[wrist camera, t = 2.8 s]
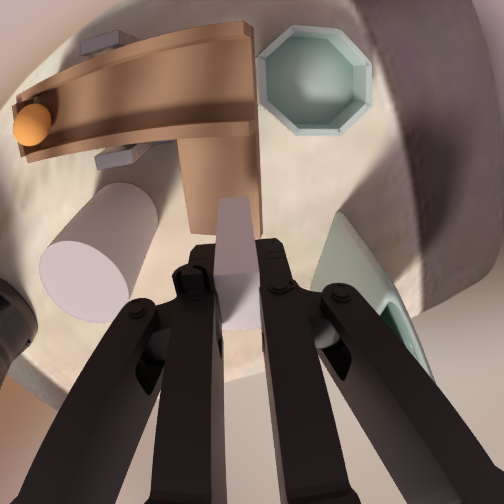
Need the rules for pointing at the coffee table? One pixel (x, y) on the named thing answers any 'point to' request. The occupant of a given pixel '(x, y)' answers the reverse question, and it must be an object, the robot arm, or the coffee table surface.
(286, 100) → the bowl
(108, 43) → the fulcrum
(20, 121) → the ball
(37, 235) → the coffee table surface
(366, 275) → the planter
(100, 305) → the pale pink cylinder
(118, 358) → the robot arm
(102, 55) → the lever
